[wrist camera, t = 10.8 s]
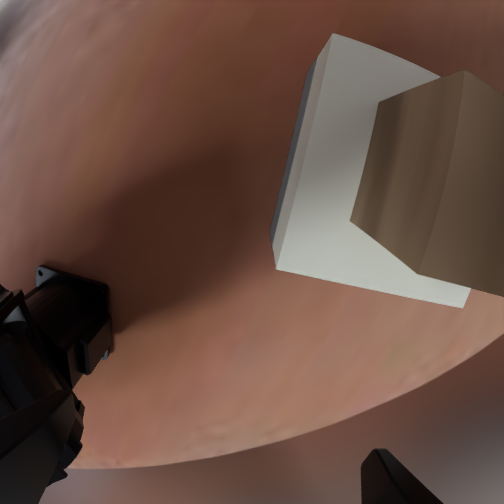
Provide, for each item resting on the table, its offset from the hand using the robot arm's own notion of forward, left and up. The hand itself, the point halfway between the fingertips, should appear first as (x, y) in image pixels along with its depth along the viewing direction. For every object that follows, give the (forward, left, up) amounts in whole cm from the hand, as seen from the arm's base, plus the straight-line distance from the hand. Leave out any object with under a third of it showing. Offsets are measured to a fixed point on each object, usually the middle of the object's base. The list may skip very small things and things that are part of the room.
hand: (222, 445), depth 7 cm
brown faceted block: (+6, +8, -6) cm, 12 cm away
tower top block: (+6, +8, -10) cm, 14 cm away
